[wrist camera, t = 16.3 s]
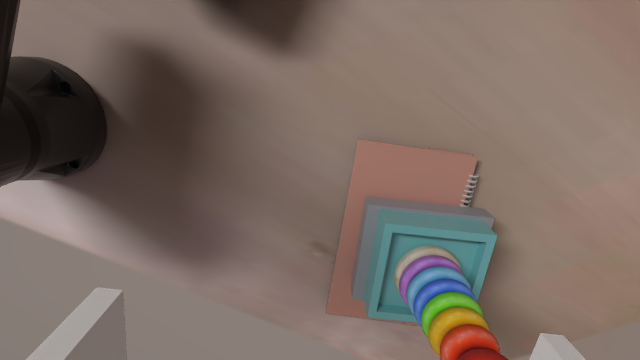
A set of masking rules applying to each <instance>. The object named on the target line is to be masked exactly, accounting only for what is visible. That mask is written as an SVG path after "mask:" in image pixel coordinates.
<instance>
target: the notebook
mask: <svg viewBox="0 0 640 360" xmlns="http://www.w3.org/2000/svg"><path fill="white" fill-rule="evenodd" d="M477 160H478V157H475V156H474V155H471V154H464V153H458V152H451V151H444V150H438V149H431V148H427V149H421V148H415V147H408V146H401V145H395V144H388V143H381V142H375V141H368V140H361V139H358V143H357V148H356V154H355V159H354V164H353V170H352V175H351V180H350V185H349V191H348V196H347V201H346V207H345V212H344V217H343V223H342V228H341V233H340V239H339V244H338V249H337V255H336V260H335V265H334V271H333V276H332V281H331V287H330V292H329V297H328V303H327V308H326V314H333V315H341V316H348V317H356V318H364V319H372V320H380V321H387V322H395V323H403V324H411V325H418V326H420V325H419V323H418V322H408V321H398V320H388V319H378V318H367V314H366V308H365V303H364V300H357V299H352V295H351V287H350V284H351V278H352V272H353V266H354V260H355V254H356V249H357V243H358V237H359V231H360V225H361V219H362V213H363V207H364V201H365V196H372V197H381V198H390V199H399V200H408V201H417V202H426V203H436V204H445V205H454V206H463V207H469V206H470V204H468V203H470V202H471V199H469V198H472V197H473V195H472V194H471V193H474V190H473V189H472V188H475V187H476V185H475V184H473V183H477V180H476V179H474V178H478V177H479V175H478V174H475V173H474V170H475V167H476V164H477ZM473 173H474V175H475V176H473ZM472 177H473V179H472ZM471 180H474V181H471ZM470 183H471V185H473V186H470ZM469 188H470V190H472V191H468V190H469ZM467 193H468V195H470V196H467ZM466 197H467V199H468V200H469V201H466V200H465V199H466ZM465 202H466V203H465ZM464 203H465V204H467V205H468V206H465V205H464Z"/></svg>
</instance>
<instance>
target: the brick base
mask: <svg viewBox="0 0 640 360" xmlns="http://www.w3.org/2000/svg"><path fill="white" fill-rule="evenodd" d="M494 219H495V218H494V217H493V216H492V215H490V214H489V213H488V212H487V211H486V210H485V209H481V208H472V207H463V206H454V205H445V204H436V203H426V202H417V201H408V200H399V199H390V198H381V197H372V196H365V201H364V207H363V213H362V219H361V225H360V231H359V237H358V243H357V249H356V254H355V260H354V266H353V272H352V278H351V284H350V287H351V295H352V299H357V300H364V303H365V308H366V314H367V318H378V319H388V320H398V321H408V322H417V320H416V318H415V316H414V314H413V313H412V312H411V310H410V308H409V307H408V306H407V305H406V304H405V303H404V301H403V299H402V298H401V295H400V293H399V291H398V290H397V288H396V285H395V281H394V273H395V269H396V266H397V264H398V262H399V260H400V259H401V258H402V257H403V256H404V255H405V254H406V253H407V252H409V251H410V250H412V249H414V248H417V247H420V246H425V245H434V246H439V247H442V248H444V249H446V250H448V251H449V252H451V253H452V254H453V255H454V256H455V257H456V259H457V260H458V262H459V264H460V267H461V270H462V272H463V274H464V276H465V278H466V279H467V280H468V282H469V284H470V287H471V290H472V292H473V293H474V295H475V297H476V300H477V301H478V298H479V294H480V291H481V288H482V285H483V281H484V278H485V275H486V272H487V269H488V265H489V262H490V259H491V256H492V252H493V249H494V246H495V243H496V239H497V236H498V235H497V234H496V233H495V232H494V231H492V230H491V229H492V226H493V223H494Z"/></svg>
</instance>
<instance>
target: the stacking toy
mask: <svg viewBox="0 0 640 360" xmlns="http://www.w3.org/2000/svg"><path fill="white" fill-rule="evenodd" d="M394 281H395V285H396V288H397V290H398V291H399V293H400V295H401V298H402V299H403V301H404V303H405V304H406V305H407V306H408V307H409V308H410V310H411V312H412V313H413V314H414V316H415V318H416V320H417V322H418V323H419V325H420V326H421V327H422V329H423V331H424V333H425V335H426V336H427V337H428V338H429V342H430V344H431V346H432V348H433V350H434V351H435V352H436V353H437V354H438V355H439V356H440V358H441V360H508V359H507V358H505V357H504V356H503V355H501V354H500V348H499V344H498V342H497V340H496V338H495V337H494V335H493V334H492V333H491V332H490V331H489V327H488V324H487V322H486V321H485V319H484V315H483V312H482V309H481V307H480V306H479V304H478V303H477V300H476V297H475V295H474V293H473V292H472V290H471V287H470V284H469V282H468V280H467V279H466V278H465V276H464V274H463V272H462V270H461V267H460V264H459V262H458V260H457V259H456V257H455V256H454V255H453V254H452V253H451V252H449V251H448V250H446V249H444V248H442V247H439V246H434V245H425V246H420V247H417V248H414V249H412V250H410V251H409V252H407V253H406V254H405V255H404V256H403V257H402V258H401V259H400V260H399V262H398V264H397V266H396V269H395V273H394Z"/></svg>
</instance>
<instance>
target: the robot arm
mask: <svg viewBox="0 0 640 360" xmlns="http://www.w3.org/2000/svg"><path fill="white" fill-rule="evenodd" d="M19 6H20V0H0V187H1V186H3V185H6V184H8V183H11V182H14V181H17V180H55V179H61V178H65V177H68V176H71V175H73V174H76V173H78V172H80V171H83V170H85V169H86V168H88V167H89V166H91V165H92V164H93V163H94V162H95V161H96V160H97V158H98V157H99V156H100V154H101V152H102V150H103V147H104V144H105V140H106V121H105V116H104V113H103V110H102V107H101V105H100V103H99V101H98V99H97V97H96V95H95V94H94V92H93V91H92V89H91V88H90V87H89V86H88V85H87V83H86V82H85V81H84V80H83V79H82V78H81V77H80V76H78V75H77V74H76V73H75V72H73V71H72V70H70V69H69V68H67V67H65V66H64V65H62V64H59V63H57V62H55V61H52V60H49V59H45V58H39V57H11V52H12V47H13V41H14V35H15V29H16V23H17V17H18V12H19ZM125 334H126V333H125V317H124V299H123V290H117V289H107V288H96V289H95V290H94V291H93V292H92V293H91V294H90V295H89V296H88V297H87V298H86V299H85V300H84V301H83V302H82V303H81V304H80V305H79V306H78V307H77V308H76V309H75V310H74V311H73V312H72V313H71V314H70V315H69V316H68V317H67V318H66V319H65V320H64V321H63V323H61V324H60V325H59V327H58V328H57V329H56V330H55V331H54V332H53V333H52V334H51V335H50V336H49V337H48V338H47V339H46V340H45V341H44V342H43V343H42V344H41V345H40V346H39V347H38V348H37V349H36V350H35V351H34V352H33V353H32V354H31V355H30V356H29V357H28V358H27V359H26V360H127V351H126V335H125ZM529 360H585V358H583V356H582V355H581V354H580V353H579V352H578V351H577V350H576V349H575V348H574V347H573V345H572V344H571V343H570V342H569V341H568V340H567V339H566V338H565V337H564V336H563V335H555V334H545V333H540V336H539V338H538V340H537V343H536V345H535V347H534V350H533V352H532V354H531V357H530V359H529Z"/></svg>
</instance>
